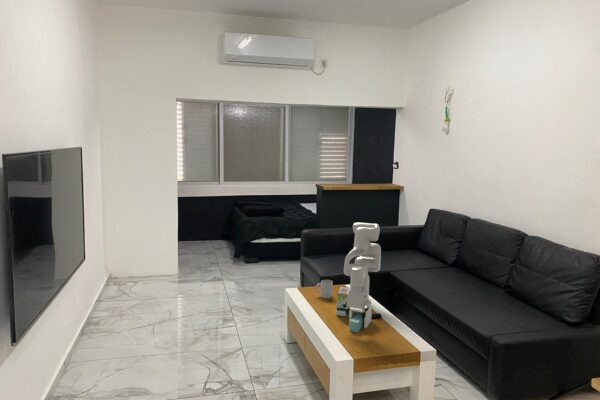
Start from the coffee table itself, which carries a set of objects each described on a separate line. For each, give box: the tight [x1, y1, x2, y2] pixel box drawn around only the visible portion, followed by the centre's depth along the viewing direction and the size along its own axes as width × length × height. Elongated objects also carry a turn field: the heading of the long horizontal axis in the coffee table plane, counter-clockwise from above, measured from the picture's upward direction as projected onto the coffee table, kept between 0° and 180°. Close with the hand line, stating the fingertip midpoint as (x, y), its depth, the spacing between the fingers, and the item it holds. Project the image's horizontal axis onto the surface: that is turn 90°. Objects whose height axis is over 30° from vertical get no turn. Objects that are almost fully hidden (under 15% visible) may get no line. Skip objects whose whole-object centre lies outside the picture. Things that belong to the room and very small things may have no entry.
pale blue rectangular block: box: [349, 314, 364, 333], centre depth 275 cm, size 12×5×6 cm, turn 157°
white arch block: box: [348, 304, 373, 329], centre depth 281 cm, size 12×10×10 cm
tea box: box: [335, 286, 351, 317], centre depth 299 cm, size 15×10×15 cm
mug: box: [315, 279, 334, 299], centre depth 328 cm, size 12×8×11 cm
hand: (355, 316), depth 271 cm, fingers open, 9 cm apart
